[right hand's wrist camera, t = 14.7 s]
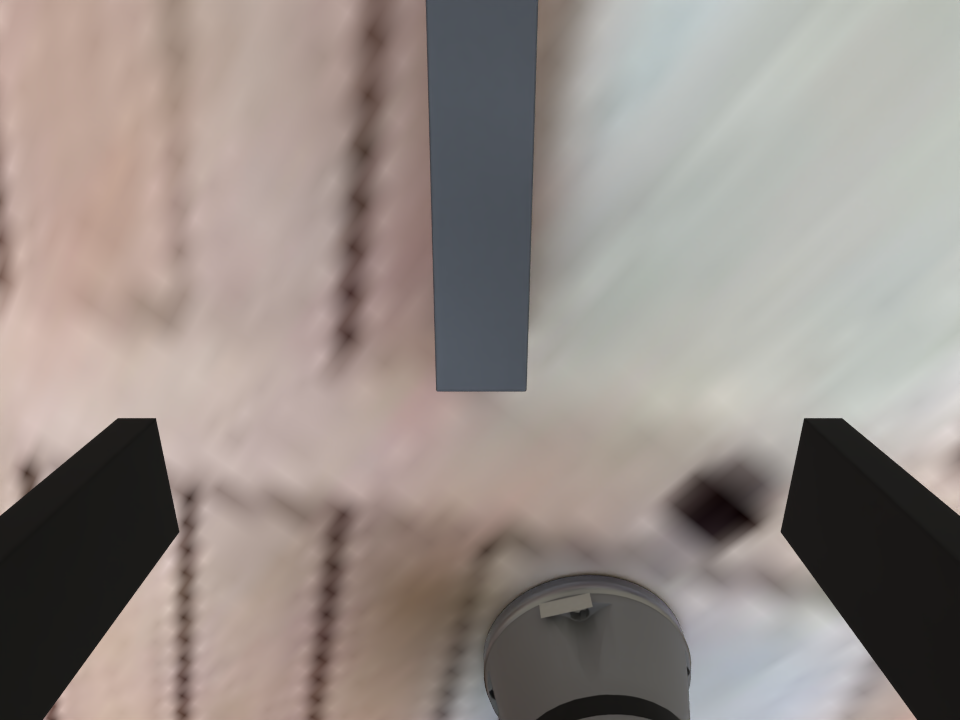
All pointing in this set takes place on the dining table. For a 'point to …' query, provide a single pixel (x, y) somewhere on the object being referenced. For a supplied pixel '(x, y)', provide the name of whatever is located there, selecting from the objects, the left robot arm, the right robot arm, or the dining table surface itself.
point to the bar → (481, 188)
